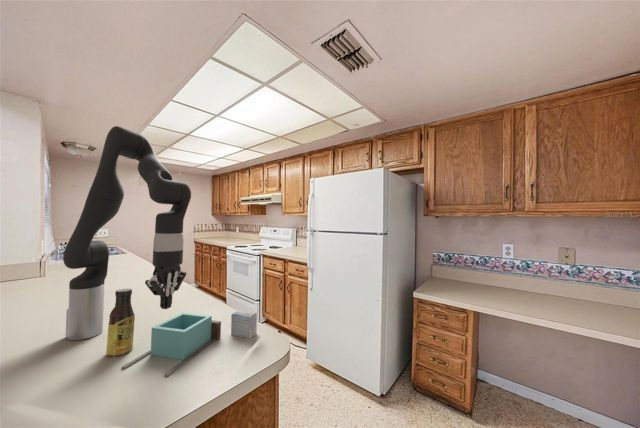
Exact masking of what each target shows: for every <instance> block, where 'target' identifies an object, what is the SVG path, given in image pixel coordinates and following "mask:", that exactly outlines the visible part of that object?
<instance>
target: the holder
mask: <svg viewBox="0 0 640 428" xmlns="http://www.w3.org/2000/svg"><path fill="white" fill-rule="evenodd" d="M212 318H213V315H205V314H199V313H198V314H197V313H188V312H181V313H179V314H177V315H175V316H173V317H170V318H168V319H167V320H165V321H163V322H161V323H159V324H156V325H154V326H152V327H151V335H150V336H151V340H150V350H151V354H150V355H151V356H156V357H162V358H169V359H176V360H180V361H183V360H184V359H186V358H187V357H188V356H190V355H191V354H192V353H194V352H195V351H197V350H198V349H199V348H201V347H202V346H203V345H205V344H206V343H207V342H209V341H210V340H211V324H212Z"/></svg>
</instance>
